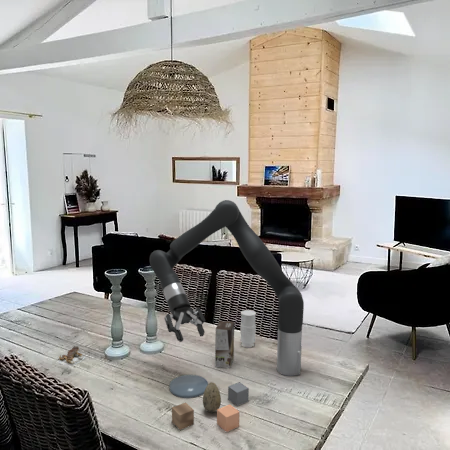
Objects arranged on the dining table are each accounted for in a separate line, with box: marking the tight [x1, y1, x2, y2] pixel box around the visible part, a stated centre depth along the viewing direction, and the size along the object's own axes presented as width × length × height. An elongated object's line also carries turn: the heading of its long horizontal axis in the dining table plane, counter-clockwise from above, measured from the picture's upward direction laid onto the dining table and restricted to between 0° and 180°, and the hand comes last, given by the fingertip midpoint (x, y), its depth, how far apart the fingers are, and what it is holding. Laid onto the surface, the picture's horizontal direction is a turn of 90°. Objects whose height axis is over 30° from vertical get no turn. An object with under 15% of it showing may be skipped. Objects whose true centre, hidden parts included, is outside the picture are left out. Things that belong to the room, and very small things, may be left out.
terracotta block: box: [216, 403, 241, 433], centre depth 130 cm, size 5×5×5 cm
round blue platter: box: [169, 374, 209, 399], centre depth 152 cm, size 14×14×1 cm
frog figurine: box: [57, 346, 86, 366], centre depth 174 cm, size 12×12×4 cm
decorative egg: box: [202, 381, 222, 414], centre depth 137 cm, size 6×6×10 cm
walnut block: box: [171, 402, 195, 431], centre depth 131 cm, size 5×5×5 cm
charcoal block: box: [227, 381, 250, 407], centre depth 144 cm, size 5×5×5 cm
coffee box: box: [214, 320, 235, 369], centre depth 170 cm, size 9×6×16 cm
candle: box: [239, 309, 257, 348], centre depth 187 cm, size 7×7×15 cm
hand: (192, 338), depth 147 cm, fingers open, 8 cm apart
